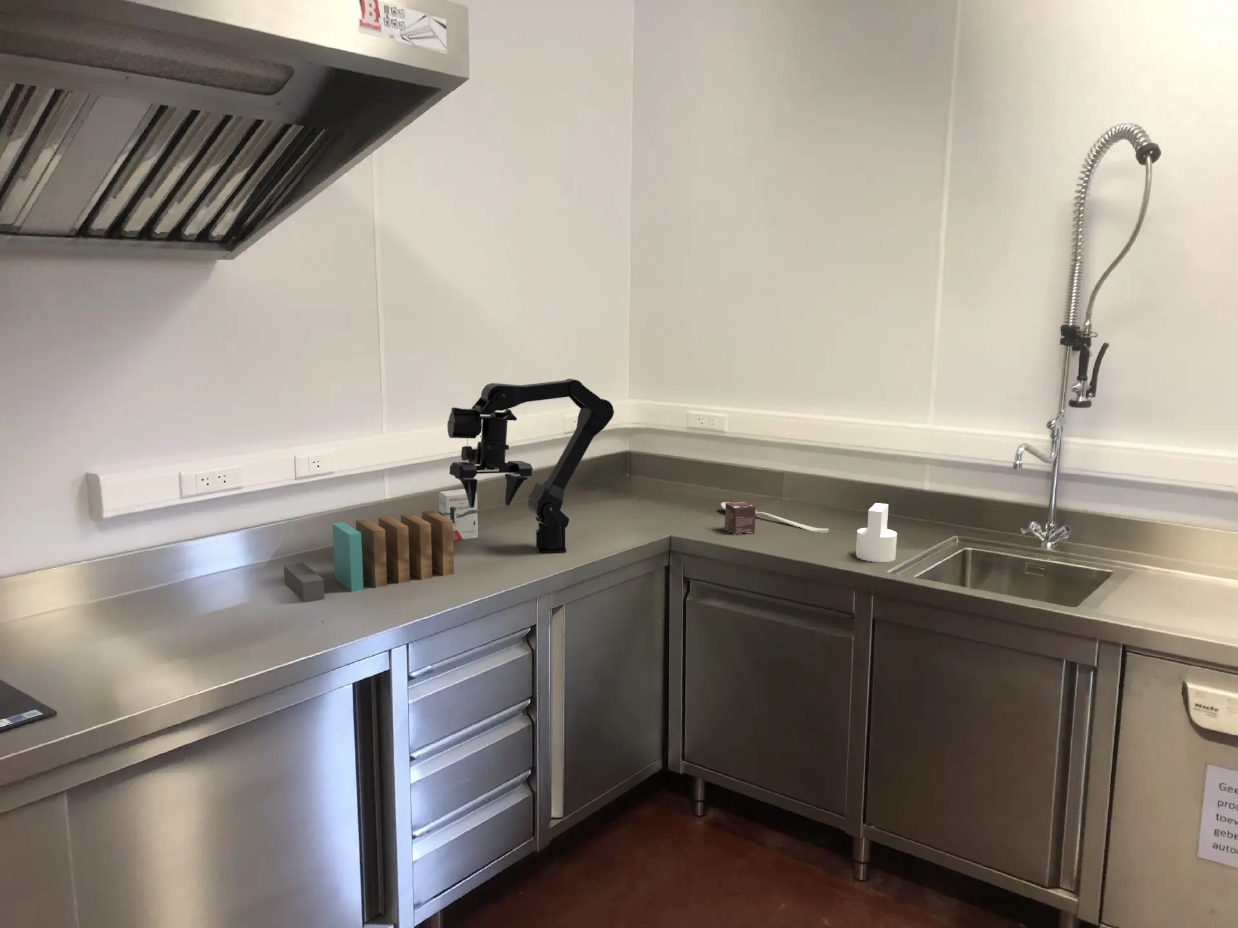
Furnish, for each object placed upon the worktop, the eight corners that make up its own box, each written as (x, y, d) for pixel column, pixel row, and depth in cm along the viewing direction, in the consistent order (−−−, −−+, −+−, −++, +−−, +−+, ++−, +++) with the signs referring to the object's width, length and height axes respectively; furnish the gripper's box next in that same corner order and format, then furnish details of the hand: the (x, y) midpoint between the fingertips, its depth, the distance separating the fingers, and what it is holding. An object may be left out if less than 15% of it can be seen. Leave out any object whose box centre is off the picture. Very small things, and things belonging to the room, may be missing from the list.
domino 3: (391, 568, 200) (389, 516, 198) (409, 581, 191) (408, 526, 189) (380, 570, 199) (378, 517, 197) (399, 583, 190) (397, 528, 188)
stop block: (304, 580, 191) (303, 562, 190) (324, 598, 180) (323, 579, 179) (284, 583, 189) (283, 565, 188) (303, 602, 177) (302, 582, 177)
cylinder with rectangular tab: (860, 549, 220) (863, 501, 217) (898, 554, 216) (901, 505, 214) (852, 559, 212) (855, 509, 210) (891, 564, 208) (895, 513, 206)
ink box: (446, 542, 222) (445, 495, 220) (438, 537, 227) (437, 491, 224) (478, 537, 227) (477, 491, 225) (470, 533, 231) (469, 488, 229)
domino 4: (412, 565, 203) (410, 513, 201) (432, 577, 194) (430, 523, 192) (402, 567, 202) (400, 514, 199) (421, 579, 193) (420, 524, 191)
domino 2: (368, 572, 197) (366, 518, 195) (387, 585, 188) (385, 529, 186) (358, 574, 196) (355, 520, 194) (375, 587, 187) (373, 531, 185)
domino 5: (433, 562, 206) (432, 510, 204) (453, 574, 197) (452, 520, 195) (423, 563, 204) (422, 511, 202) (443, 575, 195) (442, 521, 193)
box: (745, 528, 240) (745, 501, 238) (755, 533, 234) (756, 506, 233) (724, 529, 238) (724, 502, 236) (733, 535, 232) (734, 507, 231)
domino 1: (346, 576, 195) (343, 521, 192) (363, 589, 186) (361, 533, 184) (334, 578, 193) (332, 523, 191) (351, 591, 184) (349, 534, 182)
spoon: (713, 512, 257) (713, 504, 256) (731, 508, 262) (731, 499, 262) (818, 541, 233) (819, 532, 232) (835, 535, 238) (836, 526, 238)
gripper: (511, 434, 218) (507, 497, 220) (440, 434, 207) (437, 501, 209) (536, 440, 209) (531, 507, 212) (462, 441, 198) (458, 511, 200)
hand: (489, 506), depth 208 cm, fingers open, 9 cm apart
